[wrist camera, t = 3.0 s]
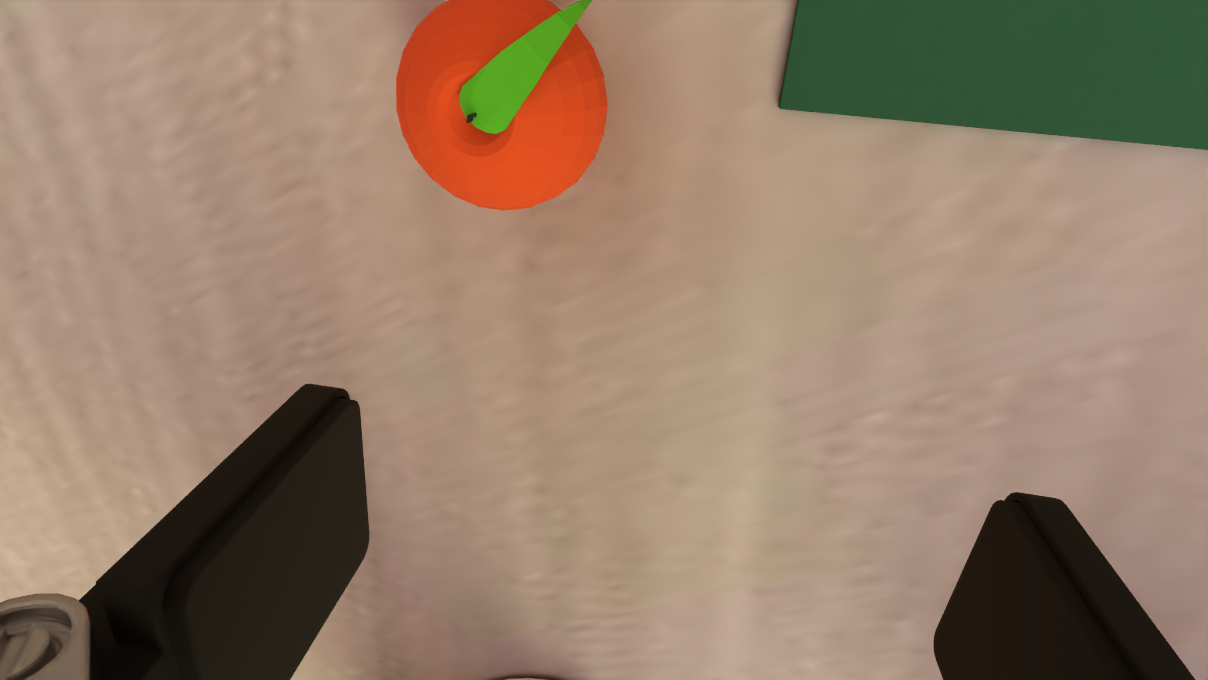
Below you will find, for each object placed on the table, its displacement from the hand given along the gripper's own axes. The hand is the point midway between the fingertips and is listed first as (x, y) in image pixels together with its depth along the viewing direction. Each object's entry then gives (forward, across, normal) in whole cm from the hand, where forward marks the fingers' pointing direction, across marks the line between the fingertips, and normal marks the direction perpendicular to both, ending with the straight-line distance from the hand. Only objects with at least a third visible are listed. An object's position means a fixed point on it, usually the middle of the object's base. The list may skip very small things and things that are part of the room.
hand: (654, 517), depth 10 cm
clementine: (+19, +6, -4) cm, 20 cm away
